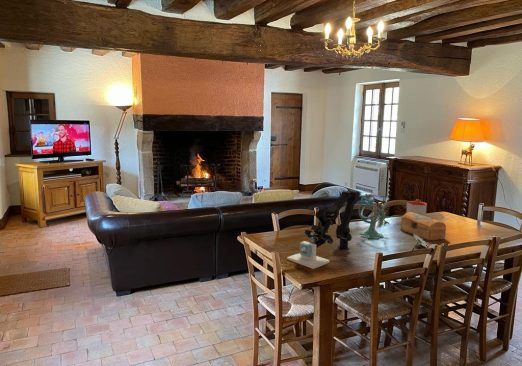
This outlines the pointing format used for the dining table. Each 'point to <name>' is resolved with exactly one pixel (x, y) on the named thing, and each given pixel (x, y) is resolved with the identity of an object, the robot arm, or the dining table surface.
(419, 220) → the wooden box
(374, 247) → the dining table surface
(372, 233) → the green tall branching piece
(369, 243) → the dining table surface
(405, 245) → the dining table surface
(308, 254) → the spacer
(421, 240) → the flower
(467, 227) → the dining table surface
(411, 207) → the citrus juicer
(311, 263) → the white mounting stand
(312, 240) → the grey block
